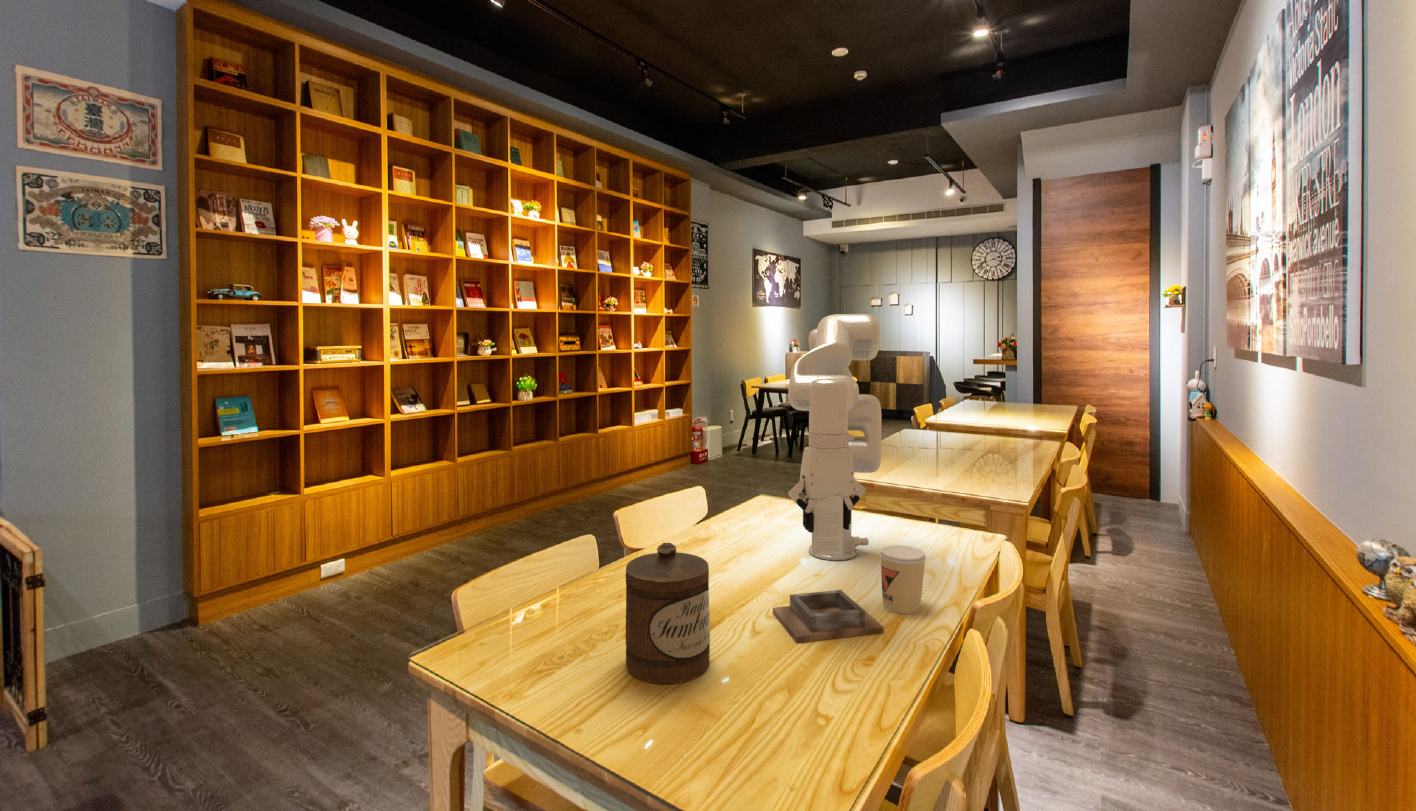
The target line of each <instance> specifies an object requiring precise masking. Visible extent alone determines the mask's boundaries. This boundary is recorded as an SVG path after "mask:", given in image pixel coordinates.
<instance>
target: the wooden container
mask: <svg viewBox="0 0 1416 811" xmlns="http://www.w3.org/2000/svg"><path fill="white" fill-rule="evenodd" d="M709 567H710V566H709V562H708V561H707V560H706V559H704V558H703V557H700V556H698V555H695V554H691V553H686V552H678V551H677V547H676V545H675V544H673V543H671V542H662V543H661V544H660V545H658V547H657V548H656V552H653V553H647V554H643V555H640V556H637V557H635V558H633V559H631V560H630V561H628V563H627V564H626V566H625V664H626V665H625V666H626V669H627V671H628V672H629V674H631V675H632V676H633V677H635V678H636V679H638V680H641V681H643V682H646V681H647V682H648V683H652V684H657V683H673V684H678V683H677V682H680V683H682V682H681V681H685V682H687V681H686V680H688V681H690V679H691V680H693V679H692V678H694V679H696V678H697V676H698V677H699V675H700V676H701V675H702V674H704V673H705V671H706V670H707V669H708V668H709V666H710V652H711V651H710V650H711V649H710V641H711V638H710V635H711V630H710V629H711V624H710V623H711V621H710V616H711V614H710V586H709V585H710V584H709V581H710V580H709V579H710V570H709V569H710V568H709ZM703 672H704V673H703ZM695 677H696V678H695ZM647 682H646V683H647Z"/></svg>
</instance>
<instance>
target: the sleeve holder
mask: <svg viewBox="0 0 1416 811" xmlns="http://www.w3.org/2000/svg"><path fill="white" fill-rule="evenodd" d="M772 614H773V616H774V617H775V618H776V619H777V621H778V622H779V623H780V624H781V626H783V628H784V629H785V630H786V632H787V633H788V634H789V635H790V637H791V638H792V639H793V641H794V642H795V643H796V644H798V643H806V642H807V643H808V642H816V641H824V640H825V641H826V640H831V639H832V640H833V639H840V638H842V639H843V638H849V637H850V638H851V637H860V636H859V635H861V636H867V635H869V636H870V635H876V633H878V634H884V630H885V629H884V628H885V627H884V626H883V625H882V624H881V623H880V622H879V621H877V620H876V618H874V617H873V616H872V615H871V614H870V613H868V612H867V611H866V610H865V609H863V608H862V607H861V605H859V604H858V603H857V602H855V601H854V600H853V599H852V598H851V597H850V596H849V595H847V594H846V593H845V592H844V591H843V590H842V589H837V590H835V589H834V590H828V591H816V592H815V591H814V592H806V593H805V592H804V593H795V594H789V605H787V606H778V607H773V608H772Z"/></svg>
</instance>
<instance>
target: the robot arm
mask: <svg viewBox="0 0 1416 811" xmlns="http://www.w3.org/2000/svg"><path fill="white" fill-rule="evenodd" d="M880 328H881V327H880V323H879V322H878V320H877V318H876V317H875V316H873V315H871V314H868V313H849V314H847V313H846V314H845V313H839V314H836V313H835V314H830V315H827V316H824V317H823V318H821V319H820V321H819V322H818V325H817V328H814V329H813V330H811V331H810V332H809V334H808V349H809V351H807V352H806V353H804V354H803V355H802V356H800V357H799V358H798V359H797V360H796V361H795V363H794V364H793V366H792V368H791V372H790V376H789V377H790V378H789V384H788V390H787V391H788V394H787V397H788V401H789V403H790V405H791V408H793V409H795V410H797V411H804V412H805V411H807V412H809V413H808V446H805V447H804V449H803V453H802V460H801V463H800V464H801V465H800V473H799V474H800V475H799V481H798V482H797V483H796V484H795V485H794V486H793V487H792V488H791V489H790V490H788V492H787V493H788V496H789V497H790V498H791V499H792V501H794V503H795V504H796V505H797V506H798V507H799V508H800V509H801V510H802V526H803V527H804V529H805V531H807V532H808V533H811V534H812V532H814V513H813V512H812V508H813V506H814V504H815V502H816V500H820V499H826V498H829V497H830V496H840V495H842V496H843V555H813V552H812V544H811V545H810V546H809V547H808V552H809V554H810V555H811V556H813V557H815V558H818V559H821V560H826V561H827V560H828V561H845V560H846V561H847V560H850V559H851V560H852V559H853V558H855V557H856V556H857V555H858V549H857V547H858V546H868V545H869V542H870V541H869V539H868V538H867V537H861V538H860V536H853V535H852V527H853V526H852V523H853V522H852V518H853V516H852V515H853V514H852V513H853V510H854V507H855V505H856V504H857V503H858V502H859V501H860V498H862V496H863V495H864V494H865V493H866V491H867V490H866V488H865V487H864V486H863V485H862V484H861V483H860V482H859V481H857V480H856V479H855V473H859V474H871V473H873V474H874V473H875V472H877V471H878V470H879V469H880V467H881V462H882V407H881V403H880V400H879V398H877V397H876V396H875V395H873V394H865V393H864V394H863V393H862V394H860V391H859V390H860V388H859V384H858V383H857V382H856V380H855V378H853V374H852V372H851V370H850V369H849V366H851V364H852V361H872V360H874V359H875V358H876V357H877V356H878V353H879V349H880V342H881V329H880ZM848 431H851V432H852V431H854V432H860V433H862V434H863V435H854V434H850V432H848ZM799 494H801V495H804V498H803V499H802V498H801V497H800V496H799Z"/></svg>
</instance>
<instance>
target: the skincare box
mask: <svg viewBox="0 0 1416 811" xmlns="http://www.w3.org/2000/svg"><path fill="white" fill-rule="evenodd" d="M812 512H813V513H814V532H812V533H811V545H812V552H813V555H843V496H842V495H840V496H830V497H829V498H826V499H820V500H816V502H815V504H814V506H813V508H812ZM813 555H812V556H813Z"/></svg>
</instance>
